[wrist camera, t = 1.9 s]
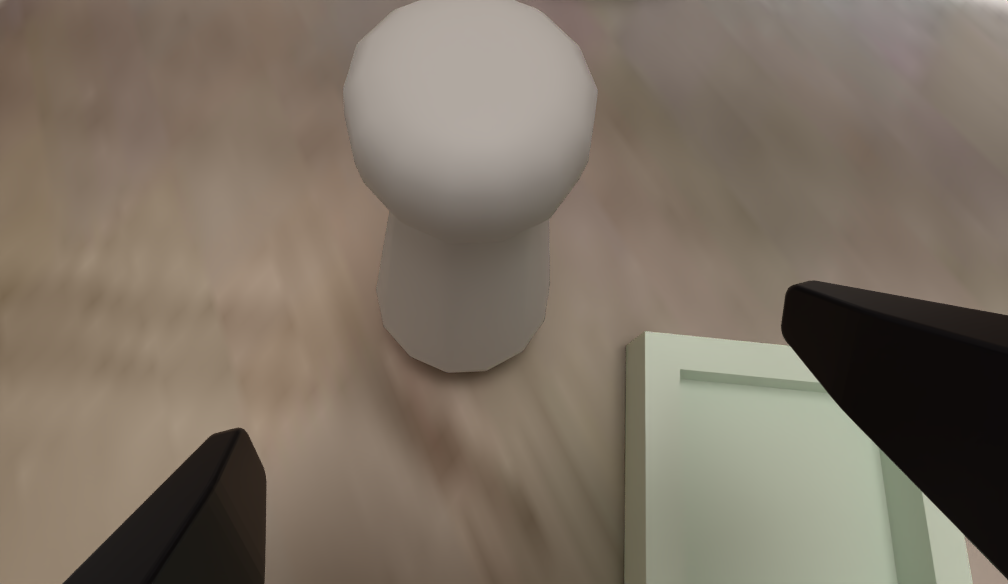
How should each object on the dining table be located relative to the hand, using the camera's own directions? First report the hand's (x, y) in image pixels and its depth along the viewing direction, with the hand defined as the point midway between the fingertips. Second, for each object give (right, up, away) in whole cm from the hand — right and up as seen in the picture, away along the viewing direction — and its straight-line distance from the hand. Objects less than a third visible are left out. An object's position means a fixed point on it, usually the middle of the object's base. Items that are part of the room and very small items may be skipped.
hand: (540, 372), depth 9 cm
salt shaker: (-2, +1, +12) cm, 12 cm away
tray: (+9, -6, +11) cm, 15 cm away
